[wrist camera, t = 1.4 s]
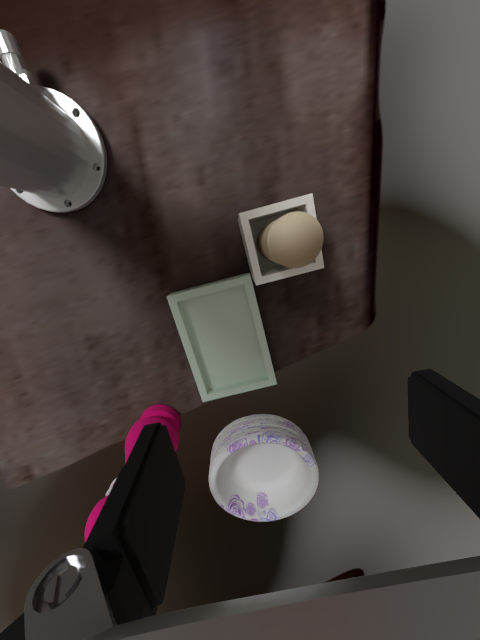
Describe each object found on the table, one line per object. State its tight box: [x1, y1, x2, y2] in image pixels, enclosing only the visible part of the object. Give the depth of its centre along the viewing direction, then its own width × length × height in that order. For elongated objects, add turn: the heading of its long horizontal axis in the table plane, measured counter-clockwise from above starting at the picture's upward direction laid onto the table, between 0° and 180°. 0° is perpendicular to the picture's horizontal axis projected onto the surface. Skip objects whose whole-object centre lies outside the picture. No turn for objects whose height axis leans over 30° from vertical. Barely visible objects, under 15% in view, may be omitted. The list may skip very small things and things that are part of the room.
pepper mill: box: [85, 404, 181, 542], centre depth 32 cm, size 7×7×20 cm
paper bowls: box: [209, 414, 319, 522], centre depth 39 cm, size 15×15×8 cm
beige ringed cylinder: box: [257, 211, 324, 268], centre depth 27 cm, size 4×4×12 cm
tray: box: [166, 273, 277, 402], centre depth 36 cm, size 16×11×2 cm
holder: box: [238, 193, 324, 286], centre depth 31 cm, size 8×8×7 cm
